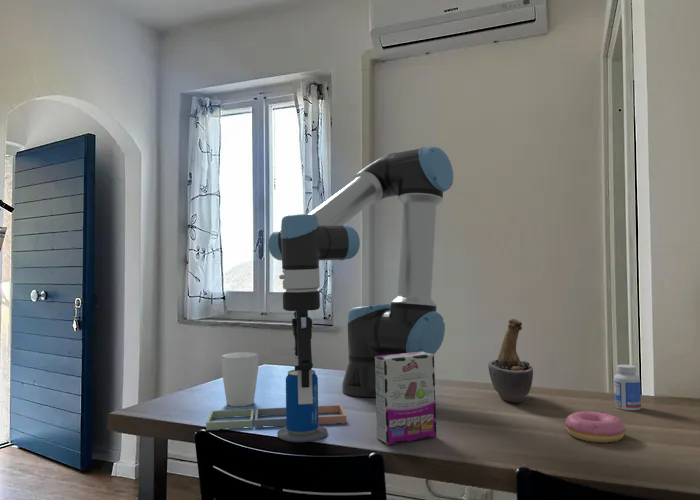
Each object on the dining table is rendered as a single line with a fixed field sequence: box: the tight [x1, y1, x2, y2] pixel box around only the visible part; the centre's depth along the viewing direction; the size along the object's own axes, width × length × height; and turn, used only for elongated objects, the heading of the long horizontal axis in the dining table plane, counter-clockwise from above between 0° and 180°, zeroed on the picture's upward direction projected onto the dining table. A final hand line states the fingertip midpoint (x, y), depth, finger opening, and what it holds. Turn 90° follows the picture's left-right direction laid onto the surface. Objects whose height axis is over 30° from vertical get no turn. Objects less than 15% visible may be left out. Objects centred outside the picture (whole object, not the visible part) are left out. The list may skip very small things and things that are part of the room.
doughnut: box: [564, 410, 626, 444], centre depth 110 cm, size 11×11×4 cm
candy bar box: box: [375, 352, 437, 446], centre depth 110 cm, size 11×5×16 cm, turn 114°
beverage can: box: [285, 369, 319, 435], centre depth 113 cm, size 6×6×12 cm
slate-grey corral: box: [254, 406, 286, 428], centre depth 123 cm, size 10×10×2 cm
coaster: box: [277, 425, 328, 443], centre depth 113 cm, size 10×10×1 cm
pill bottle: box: [613, 364, 642, 411], centre depth 130 cm, size 6×5×10 cm
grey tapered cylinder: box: [221, 351, 259, 407], centre depth 139 cm, size 9×9×12 cm
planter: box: [488, 318, 534, 404], centre depth 140 cm, size 15×17×20 cm
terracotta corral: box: [318, 404, 347, 425], centre depth 125 cm, size 10×10×2 cm
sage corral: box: [205, 408, 255, 431], centre depth 122 cm, size 10×10×2 cm
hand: (303, 395), depth 114 cm, fingers open, 13 cm apart
